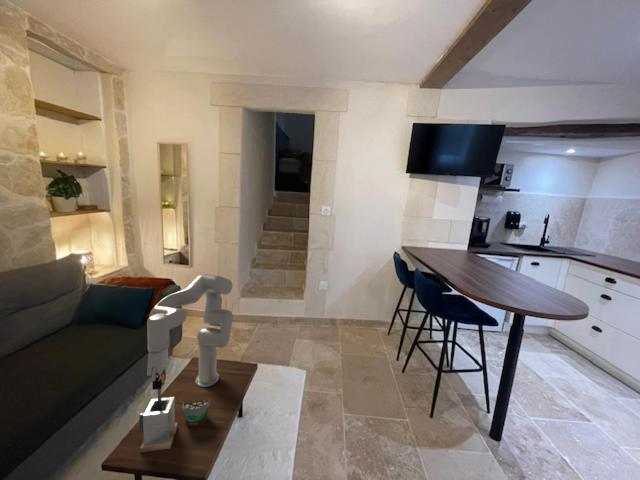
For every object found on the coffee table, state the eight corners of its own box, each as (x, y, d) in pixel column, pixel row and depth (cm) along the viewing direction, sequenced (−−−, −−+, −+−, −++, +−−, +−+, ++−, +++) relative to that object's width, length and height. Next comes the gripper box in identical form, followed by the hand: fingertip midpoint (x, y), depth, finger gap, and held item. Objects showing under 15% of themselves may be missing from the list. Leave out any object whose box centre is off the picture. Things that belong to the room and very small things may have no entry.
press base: (150, 429, 117) (150, 425, 117) (177, 426, 120) (177, 422, 119) (140, 452, 106) (140, 448, 106) (170, 448, 109) (170, 444, 109)
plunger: (155, 413, 113) (154, 371, 110) (168, 411, 115) (168, 370, 112) (150, 423, 108) (149, 380, 105) (164, 421, 110) (163, 379, 107)
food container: (179, 432, 117) (179, 412, 115) (182, 420, 123) (182, 401, 121) (208, 427, 120) (209, 408, 119) (210, 416, 126) (210, 398, 124)
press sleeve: (145, 427, 115) (144, 399, 113) (174, 424, 118) (174, 396, 116) (135, 446, 107) (135, 416, 104) (168, 442, 109) (167, 413, 107)
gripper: (156, 334, 114) (156, 372, 116) (139, 357, 97) (140, 400, 100) (175, 333, 115) (175, 371, 118) (161, 355, 99) (162, 398, 102)
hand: (159, 384), depth 109 cm, fingers closed on plunger, 4 cm apart
